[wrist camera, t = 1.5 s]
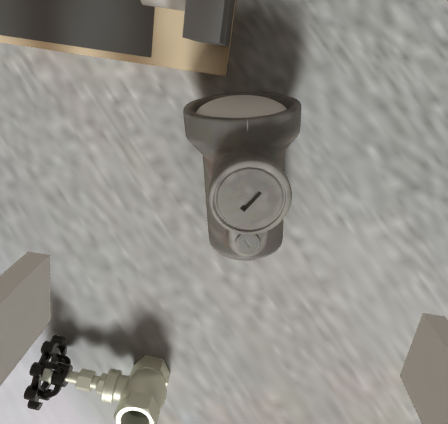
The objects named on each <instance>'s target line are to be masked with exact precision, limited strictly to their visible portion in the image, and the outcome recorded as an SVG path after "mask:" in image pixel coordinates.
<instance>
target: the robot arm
mask: <svg viewBox="0 0 448 424" xmlns="http://www.w3.org/2000/svg"><path fill="white" fill-rule="evenodd" d="M50 321H51V302H50V255H46V254H40V253H33V252H27V253H26V254H25V255H24V256H23V257H22V258H20V259H19V260H18V261H17V262H16V263H15V264H13V265H12V266H11V267H10V268H9V269H8V270H7V271H5V272H4V273H3V274H2V275H1V276H0V386H1V384H2V383H3V382H4V380H5V379H6V378H7V377H8V375H9V374H10V373H11V371H12V370H13V369H14V368H15V366H16V365H17V364H18V362H19V361H20V360H21V358H22V357H23V356H24V355H25V353H26V352H27V351H28V349H29V348H30V347H31V345H32V344H33V343H34V342H35V340H36V339H37V338H38V336H39V335H40V334H41V333H42V331H43V330H44V329H45V327H46V326H47V325H48V323H49V322H50ZM400 377H401V379H402V381H403V383H404V386H405V388H406V390H407V392H408V394H409V396H410V399H411V401H412V403H413V405H414V407H415V410H416V412H417V414H418V416H419V418H420V420H421V423H422V424H448V320H447V319H446V317H445V316H438V315H432V314H425V313H423V314H422V317H421V320H420V322H419V325H418V328H417V331H416V333H415V336H414V339H413V341H412V344H411V347H410V350H409V352H408V355H407V358H406V360H405V363H404V366H403V369H402V371H401V374H400Z"/></svg>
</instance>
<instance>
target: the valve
mask: <svg viewBox="0 0 448 424" xmlns="http://www.w3.org/2000/svg"><path fill="white" fill-rule="evenodd" d="M64 341H65V337H62V336H58V335H54V336H53V337H52V339H51V342H49V341H45V342H44V343H43V345H42V348H41V353H42V356H41V358H40V360H39V362H34V363H33V365H32V366H31V369H30V375H31V376H33V380H32V383H31V385H30V386H28V387H27V389H26V391H25V393H24V399H27V400H29V402H28V408H30V409H35V410H39V409H40V408H41V406H42V404H43V403H40V402H38V401H39V399H43V400H49V399H50V398H51V397H54V396H55V395H56V394H58V393H59V392H60V390H61V388H62V387H65V386H66V385H67V384H68V382H70V383H75V384H76V388H77V389H79V390H83V391H88V392H90V391H91V389H96V392H97V394H101V401H102V402H105V403H110V404H112V403H113V402H114V401H119V404H118V406H117V409H116V411H115V414H114V418H115V421H116V423H117V424H157V421H158V417H159V413H160V411H159V410H160V409H161V408H162V406H163V404H164V402H165V399H166V393H167V389H166V385H167V384H168V380H169V377H170V372H169V370H168V367H167V365H166V363H165V361H164V359H162V358H158V357H153V356H149V355H144V356H143V357H142V358H141V359H140V360H139V361H138V362H137V363H136V364H135V365H134V366H133V369H132V371H131V374H130V375H129V376H126V375H122V371H121V370H116V369H110V371H109V372H108V374H105V373H103V374H102V375H101V376H96V371H92V370H88V369H82V370H81V371H80V373H78V372H74V371H72V369H73V367H72V365H70V364H71V361H70V359H69V358H68V357H67V356H65V355H66V351H67V348H66V347H62V346H58V345H59V343H61V344H64ZM50 358H51V362H50V361H49V359H50ZM60 362H62V363H60ZM41 380H42V381H44V382H43V383H42V385H41ZM51 384H52V385H55V388H54V390H51V389H49V387H50V385H51Z"/></svg>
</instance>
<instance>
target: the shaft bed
mask: <svg viewBox="0 0 448 424" xmlns="http://www.w3.org/2000/svg"><path fill="white" fill-rule="evenodd" d="M235 6H236V0H0V42H2V43H8V44H15V45H22V46H28V47H35V48H42V49H48V50H55V51H62V52H68V53H75V54H82V55H88V56H95V57H102V58H108V59H115V60H122V61H128V62H135V63H142V64H148V65H155V66H162V67H168V68H175V69H182V70H188V71H195V72H202V73H208V74H215V75H222V76H226V73H227V66H228V58H229V51H230V43H231V36H232V28H233V21H234V13H235Z"/></svg>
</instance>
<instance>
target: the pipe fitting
mask: <svg viewBox="0 0 448 424" xmlns="http://www.w3.org/2000/svg"><path fill="white" fill-rule="evenodd" d="M183 114H184V124H185V132H186V137H187V139H188V140H189V141H190V142H191V143H192V144H193V145H194V146H195V147H196V148H197V149H198V150H199V151H200V152H201V154H202V155H203V164H204V178H205V192H206V205H207V219H208V231H209V240H210V244H211V246H212V247H213V249H214V250H216V251H217V252H218V253H220V254H221V255H223V256H226V257H228V258H231V259H236V260H256V259H260V258H263V257H266V256H268V255H270V254H272V253H274V252H275V251H276V250H278V248H279V247H280V246H281V243H282V239H283V219H284V217H285V216H286V214H287V212H288V210H289V208H290V205H291V200H292V192H291V186H290V183H289V181H288V179H287V176H286V174H285V173H284V151H285V150H286V149H287V148H288V146H289V145H290V144H291V143H292V142H293V141H294V139H295V138H296V137H297V136H298V134H299V132H300V122H301V103H300V102H299V101H298V100H297V99H295V98H293V97H289V96H285V95H280V94H273V93H233V94H224V95H217V96H210V97H206V98H201V99H198V100H195V101H192V102H190V103H188V104H187V105H186V106H185V107H184V111H183Z"/></svg>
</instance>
